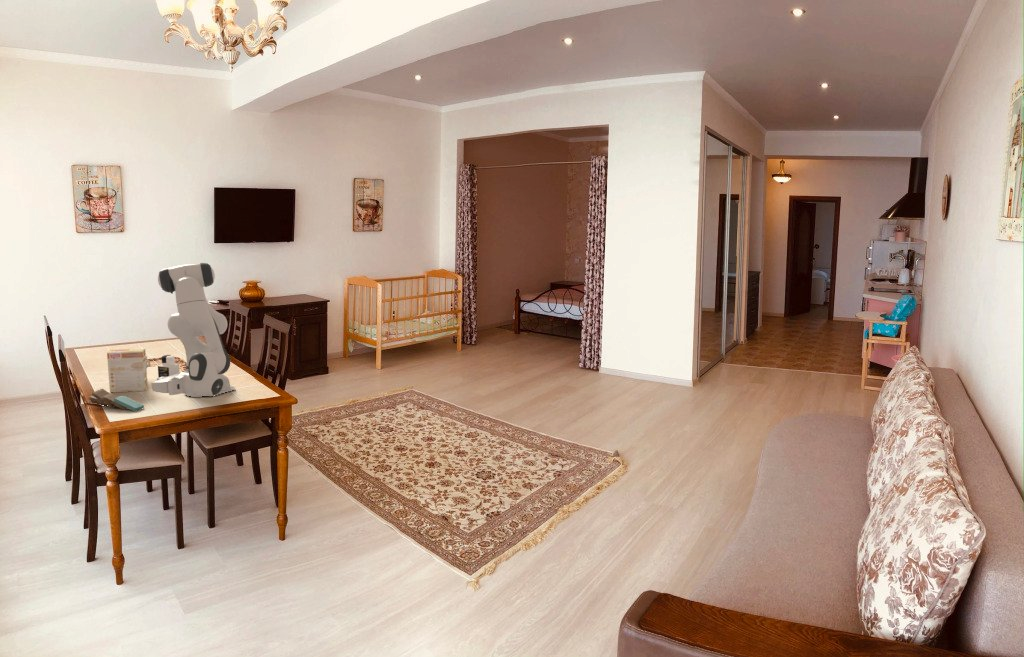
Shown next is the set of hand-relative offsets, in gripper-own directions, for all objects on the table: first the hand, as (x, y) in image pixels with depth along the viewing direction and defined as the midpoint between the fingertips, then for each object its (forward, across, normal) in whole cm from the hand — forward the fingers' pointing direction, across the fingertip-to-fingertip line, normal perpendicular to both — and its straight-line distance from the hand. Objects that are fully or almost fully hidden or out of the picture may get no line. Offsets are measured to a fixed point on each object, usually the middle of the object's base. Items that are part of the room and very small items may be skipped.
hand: (159, 379), depth 286 cm
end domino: (+27, 0, +15) cm, 31 cm away
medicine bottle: (+40, -48, +16) cm, 65 cm away
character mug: (+47, -37, +16) cm, 62 cm away
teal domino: (+10, +1, +14) cm, 17 cm away
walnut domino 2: (+23, +1, +14) cm, 27 cm away
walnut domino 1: (+28, 0, +13) cm, 31 cm away
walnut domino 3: (+16, +1, +14) cm, 21 cm away
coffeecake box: (+40, -22, +16) cm, 48 cm away
